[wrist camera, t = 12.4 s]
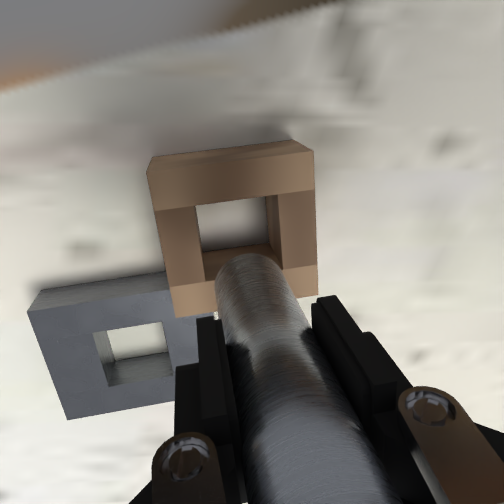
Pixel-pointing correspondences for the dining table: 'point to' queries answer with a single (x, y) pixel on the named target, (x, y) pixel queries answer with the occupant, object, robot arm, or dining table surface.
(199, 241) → the block
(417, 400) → the robot arm
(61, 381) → the socket plate
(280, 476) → the grey round-topped peg
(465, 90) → the dining table surface
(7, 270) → the dining table surface
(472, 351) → the dining table surface
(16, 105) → the dining table surface
